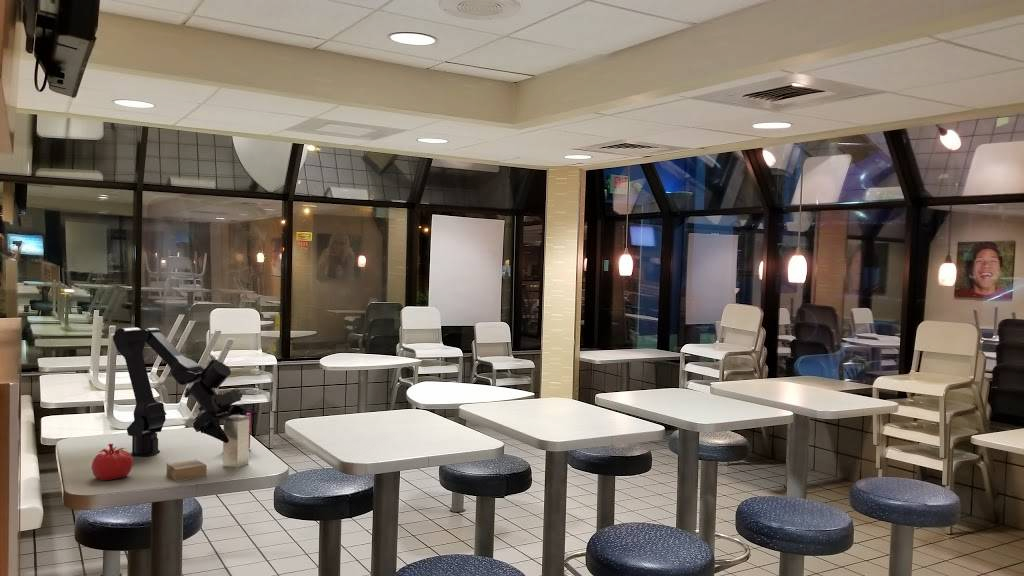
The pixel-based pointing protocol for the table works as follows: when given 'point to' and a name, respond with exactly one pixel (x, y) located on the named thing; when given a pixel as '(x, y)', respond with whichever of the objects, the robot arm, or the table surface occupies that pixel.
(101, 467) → the red tomato
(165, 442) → the table surface
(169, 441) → the table surface
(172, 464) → the walnut block
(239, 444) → the white tall block
